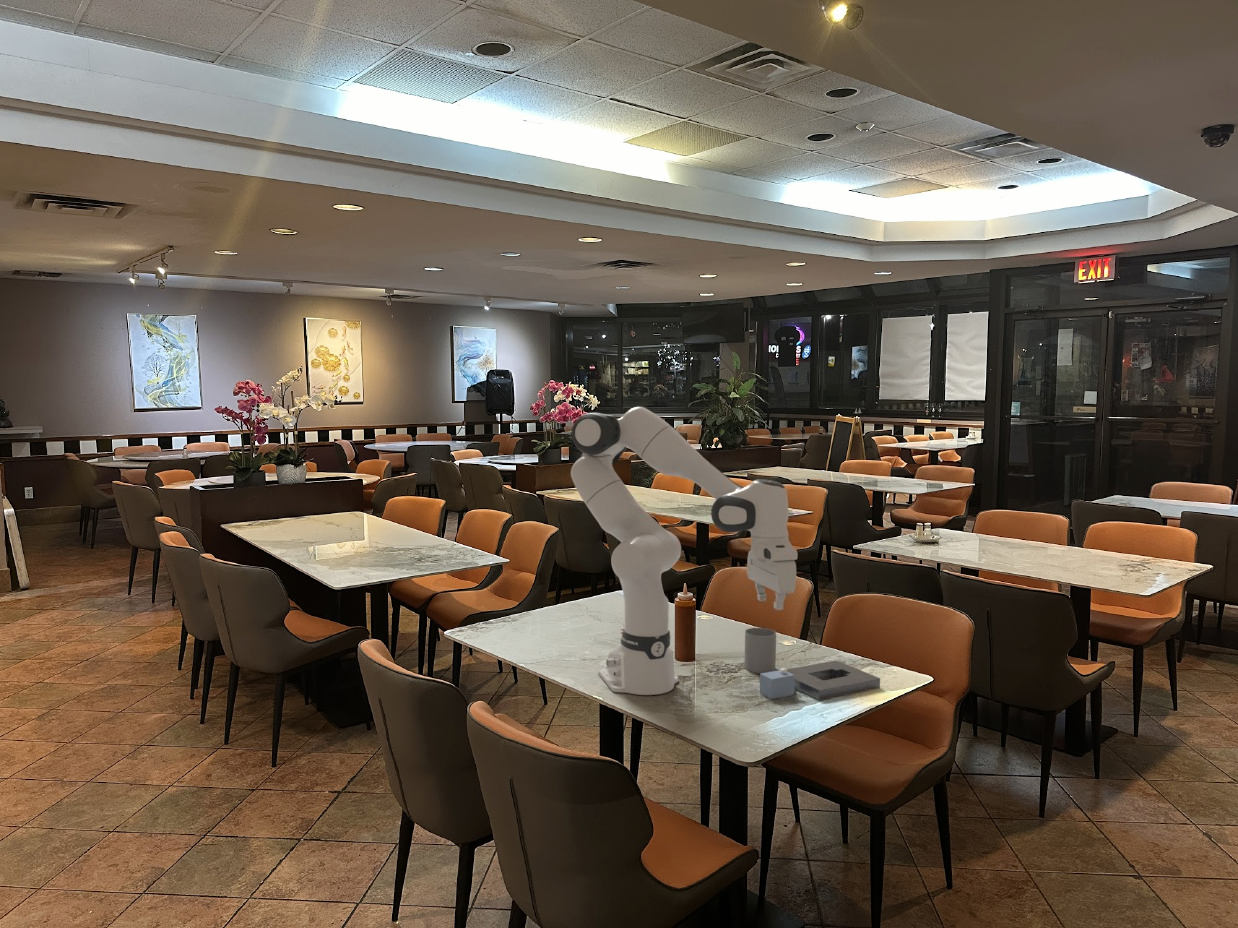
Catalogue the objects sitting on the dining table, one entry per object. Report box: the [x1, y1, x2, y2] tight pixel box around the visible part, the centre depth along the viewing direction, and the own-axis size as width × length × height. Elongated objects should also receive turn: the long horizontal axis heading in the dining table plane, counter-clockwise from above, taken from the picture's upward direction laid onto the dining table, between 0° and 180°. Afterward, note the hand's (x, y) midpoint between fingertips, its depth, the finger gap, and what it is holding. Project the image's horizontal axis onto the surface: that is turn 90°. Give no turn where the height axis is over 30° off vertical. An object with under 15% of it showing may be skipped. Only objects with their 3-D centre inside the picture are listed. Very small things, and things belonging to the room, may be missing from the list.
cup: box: [743, 627, 777, 674], centre depth 220 cm, size 8×8×10 cm
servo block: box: [759, 667, 796, 700], centre depth 201 cm, size 4×8×6 cm, turn 118°
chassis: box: [786, 660, 881, 701], centre depth 208 cm, size 16×20×2 cm
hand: (770, 604), depth 194 cm, fingers open, 8 cm apart
